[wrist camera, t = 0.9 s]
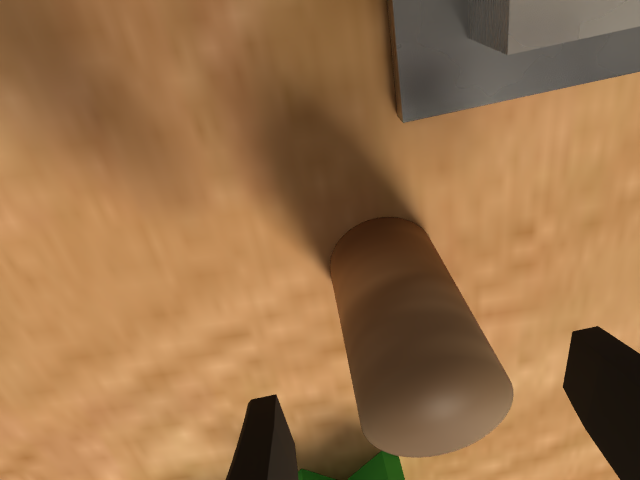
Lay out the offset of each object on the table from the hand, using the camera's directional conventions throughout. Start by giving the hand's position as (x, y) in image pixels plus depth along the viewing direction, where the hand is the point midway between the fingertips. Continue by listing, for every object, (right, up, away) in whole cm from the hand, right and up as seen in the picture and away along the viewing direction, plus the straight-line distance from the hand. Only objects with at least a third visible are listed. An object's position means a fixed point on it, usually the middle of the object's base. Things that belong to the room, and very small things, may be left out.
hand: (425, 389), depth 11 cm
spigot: (0, +3, +4) cm, 5 cm away
